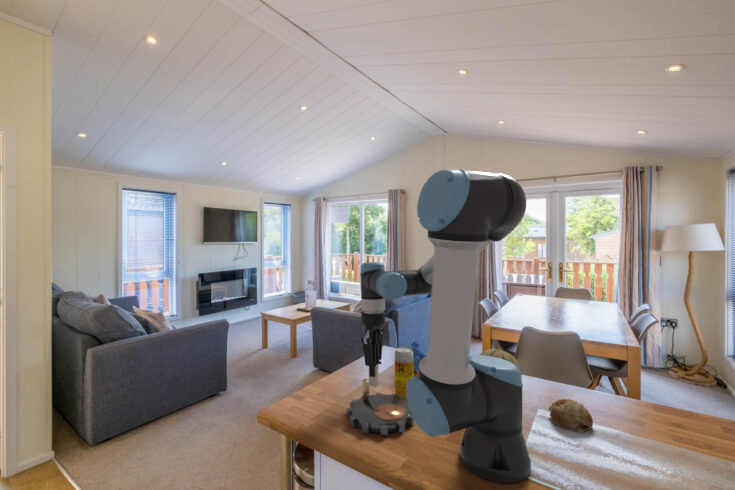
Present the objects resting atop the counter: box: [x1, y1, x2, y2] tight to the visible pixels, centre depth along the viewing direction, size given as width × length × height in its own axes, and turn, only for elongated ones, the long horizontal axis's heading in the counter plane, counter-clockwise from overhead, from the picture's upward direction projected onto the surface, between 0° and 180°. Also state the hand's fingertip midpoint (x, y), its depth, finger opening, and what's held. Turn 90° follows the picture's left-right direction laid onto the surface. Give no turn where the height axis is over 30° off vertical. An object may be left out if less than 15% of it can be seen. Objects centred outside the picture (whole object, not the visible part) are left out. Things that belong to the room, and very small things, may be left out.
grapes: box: [410, 340, 427, 372], centre depth 131 cm, size 12×7×12 cm, turn 171°
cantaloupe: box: [479, 345, 523, 377], centre depth 111 cm, size 15×15×15 cm
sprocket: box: [346, 378, 416, 436], centre depth 97 cm, size 20×20×8 cm
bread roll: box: [547, 398, 594, 434], centre depth 93 cm, size 10×10×8 cm
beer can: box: [394, 346, 415, 399], centre depth 111 cm, size 6×6×15 cm
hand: (373, 385), depth 107 cm, fingers closed
